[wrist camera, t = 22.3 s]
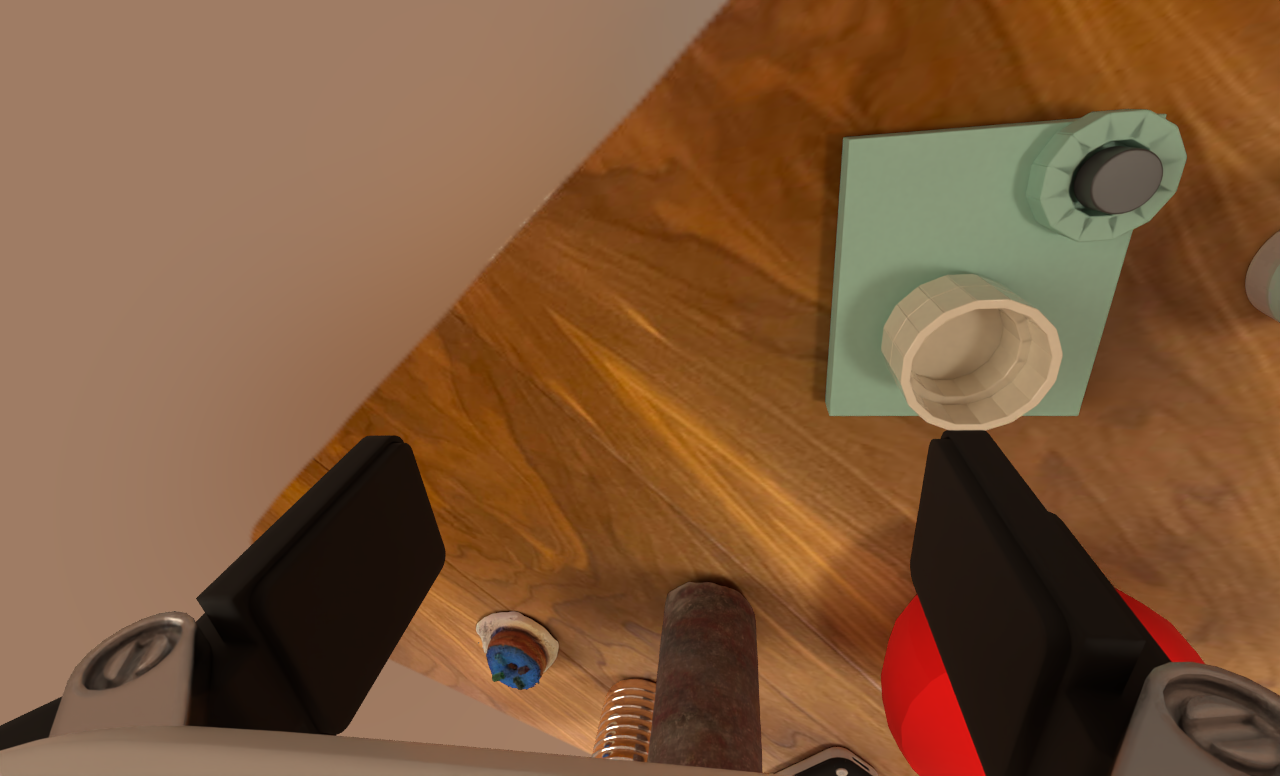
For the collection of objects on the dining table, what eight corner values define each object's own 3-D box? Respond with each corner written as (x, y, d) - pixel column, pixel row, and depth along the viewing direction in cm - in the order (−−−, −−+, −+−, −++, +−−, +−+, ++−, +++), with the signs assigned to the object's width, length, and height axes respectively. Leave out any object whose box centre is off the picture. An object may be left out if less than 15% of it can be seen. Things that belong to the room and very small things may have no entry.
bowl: (886, 274, 31) (911, 302, 27) (1028, 268, 30) (1078, 297, 26) (873, 388, 34) (894, 431, 30) (1001, 388, 33) (1042, 432, 29)
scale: (843, 129, 30) (855, 133, 27) (1151, 104, 28) (1204, 104, 24) (825, 401, 37) (833, 429, 34) (1068, 401, 35) (1100, 430, 32)
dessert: (577, 661, 52) (529, 719, 48) (548, 645, 57) (503, 696, 54) (524, 598, 50) (471, 654, 47) (499, 588, 55) (450, 637, 52)
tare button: (1080, 148, 26) (1100, 151, 25) (1150, 143, 26) (1173, 145, 24) (1066, 210, 27) (1083, 216, 26) (1131, 207, 27) (1152, 212, 26)
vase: (1092, 699, 45) (1304, 1054, 28) (852, 681, 48) (915, 991, 32) (1166, 518, 37) (1524, 864, 20) (873, 511, 40) (972, 804, 24)
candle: (720, 556, 44) (711, 856, 27) (775, 614, 46) (801, 929, 29) (648, 594, 47) (596, 886, 30) (702, 647, 49) (684, 951, 32)
